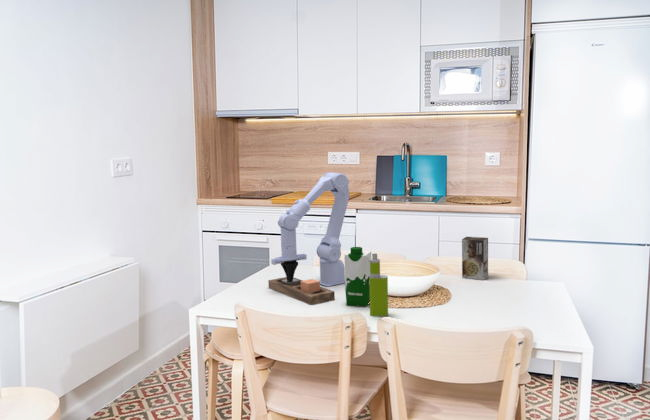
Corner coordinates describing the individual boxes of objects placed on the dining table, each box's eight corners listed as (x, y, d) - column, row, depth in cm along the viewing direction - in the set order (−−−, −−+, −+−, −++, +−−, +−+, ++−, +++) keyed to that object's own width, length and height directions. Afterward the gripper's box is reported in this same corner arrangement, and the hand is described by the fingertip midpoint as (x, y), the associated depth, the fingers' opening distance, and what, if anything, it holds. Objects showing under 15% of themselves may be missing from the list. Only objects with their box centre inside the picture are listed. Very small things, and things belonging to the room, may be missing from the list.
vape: (370, 312, 185) (369, 252, 183) (388, 313, 184) (387, 252, 182) (369, 316, 182) (368, 255, 179) (387, 316, 181) (386, 255, 178)
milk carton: (343, 306, 193) (341, 248, 191) (350, 298, 202) (349, 243, 199) (368, 308, 190) (367, 249, 188) (374, 300, 199) (373, 244, 196)
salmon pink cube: (312, 288, 208) (311, 279, 207) (319, 290, 204) (319, 281, 203) (300, 290, 205) (300, 281, 205) (308, 293, 201) (308, 283, 201)
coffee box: (488, 276, 228) (489, 237, 226) (483, 280, 222) (484, 240, 220) (466, 274, 232) (466, 236, 230) (461, 278, 227) (461, 238, 225)
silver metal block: (292, 286, 220) (292, 278, 219) (299, 289, 216) (299, 280, 215) (281, 288, 217) (281, 280, 216) (288, 291, 213) (287, 282, 212)
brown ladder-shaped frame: (290, 283, 226) (290, 276, 225) (334, 299, 201) (334, 291, 201) (268, 287, 220) (268, 280, 219) (311, 305, 195) (311, 296, 195)
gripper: (299, 241, 221) (300, 275, 223) (266, 246, 213) (268, 281, 215) (309, 244, 216) (310, 278, 217) (276, 249, 207) (277, 285, 209)
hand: (289, 280), depth 216 cm, fingers closed, pressing on silver metal block
